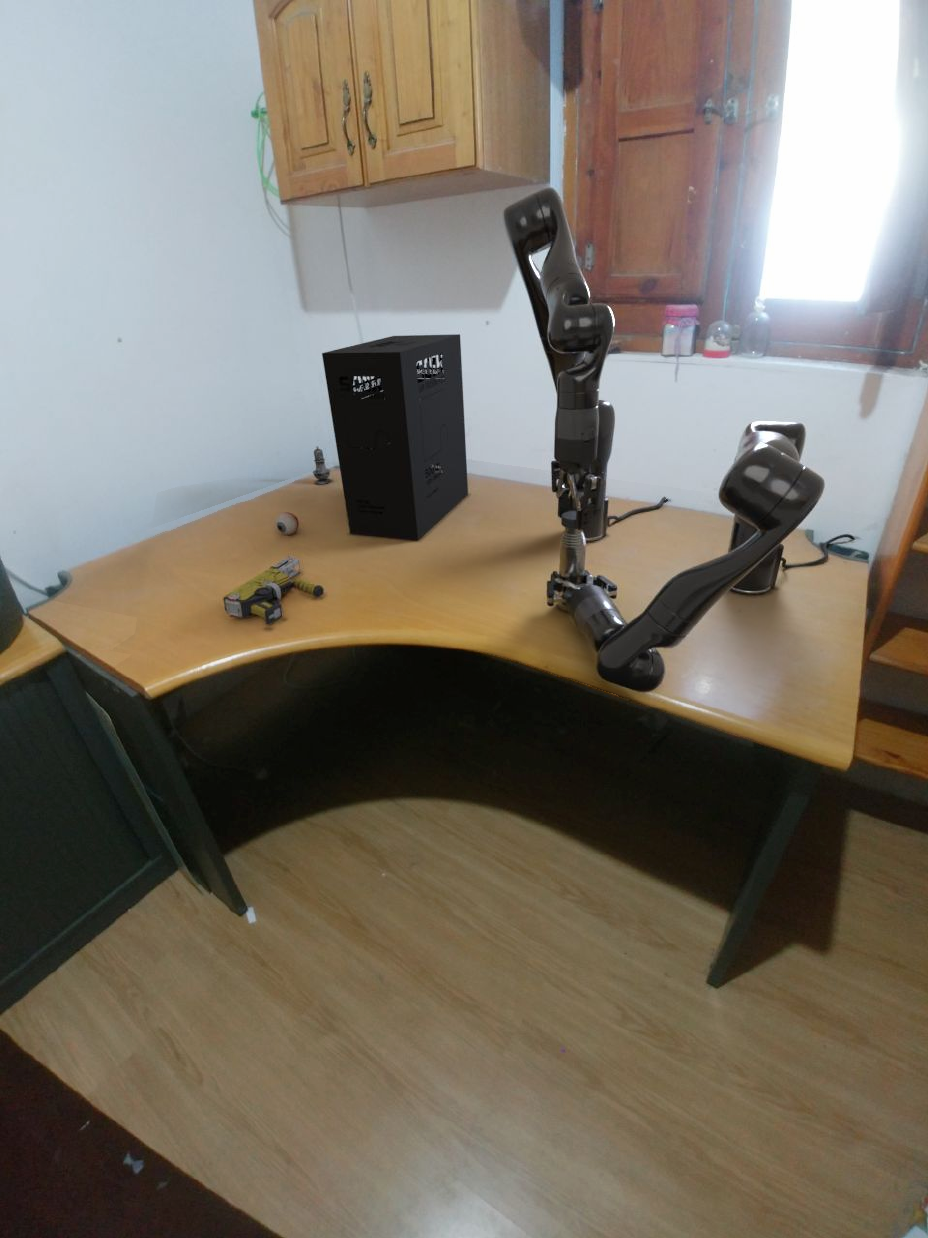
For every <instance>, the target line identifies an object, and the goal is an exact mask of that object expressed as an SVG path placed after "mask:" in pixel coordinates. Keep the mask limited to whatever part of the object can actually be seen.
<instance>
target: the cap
mask: <svg viewBox="0 0 928 1238" xmlns="http://www.w3.org/2000/svg"><path fill="white" fill-rule="evenodd" d="M560 519H561V521H560V522H561V526H562V527H564V528H565V527H566V528H573V529H574V528H576V511H569V512H565V513H563V514H562V518H560Z"/></svg>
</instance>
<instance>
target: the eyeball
mask: <svg viewBox="0 0 928 1238" xmlns="http://www.w3.org/2000/svg"><path fill="white" fill-rule="evenodd" d="M299 525H300V522H299V519H298V517H297V516H296V515H295V514H294V513H292V512H287V511H286V512H282V513H280V514H279V515H278V516H277V517H276V520H275V527H276V529H277V530H278V531H279V532H280V533H281V534H282V535H285V536H286V535H287V536H289V535H293V534H295V533H296V532H297V531H298V529H299Z"/></svg>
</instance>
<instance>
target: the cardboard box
mask: <svg viewBox="0 0 928 1238" xmlns="http://www.w3.org/2000/svg"><path fill="white" fill-rule="evenodd" d="M321 356H322V362H323V363H322V364H323V368H324V369H323V370H324V376H325V381H326V382H325V383H326V388H327V395H328V403H329V407H330V413H331V420H332V426H333V433H334V440H335V445H336V452H337V459H338V464H339V466H338V467H339V472H340V477H341V486H342V491H343V497H344V504H345V511H346V517H347V522H348V523H347V524H348V529H349V534H352V535H363V536H371V537H381V538H391V539H401V540H411V541H419V540H420V539H421V538H423V537H424V536H425V535H426V534H427V533H428V532H429V531H430V530H432V528H433V527H434V526H435V525H436V524H438V522H440V520H442V519H443V518H444V517H445V516H446V515H448V513H450V512H451V511H452V510H453V509H454V508H455V507H456V506H457V505H458V504H459V503H461V501H462V500H464V498H466V497H467V496H468V495H469V486H468V465H467V464H468V463H467V444H466V425H465V406H464V405H465V403H464V385H463V364H462V344H461V334H459V333H458V334H415V335H414V334H413V335H411V334H410V335H392V336H387V337H383V338H379V339H376V340H370V341H366V342H362V343H358V344H354V345H350V346H345V347H341V348H338V349H333V350H330V351H325V352H322V353H321ZM425 360H426V363H425ZM437 360H438V363H439V366H438V363H437ZM420 362H421V364H420ZM430 364H431V365H430ZM355 377H356V378H355ZM368 377H369V379H368ZM372 377H373V378H372ZM359 378H360V380H359ZM364 378H365V379H364Z"/></svg>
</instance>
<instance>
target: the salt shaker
mask: <svg viewBox="0 0 928 1238" xmlns="http://www.w3.org/2000/svg"><path fill="white" fill-rule="evenodd" d="M313 455H314V460H313V461H314V463H315V470H313V471H312V474H313V476H314V478H315V479H316V481H315V483H314V484H316V485H325V484H329V483H331V482H332V480H331V479H330V478H329V477H330V472H331V469H329V468H327V467H326V464H325V463H326V462H325V461H326V458H324V453H323V450H322V448H319V446H316V448H315V449H314V450H313Z"/></svg>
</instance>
